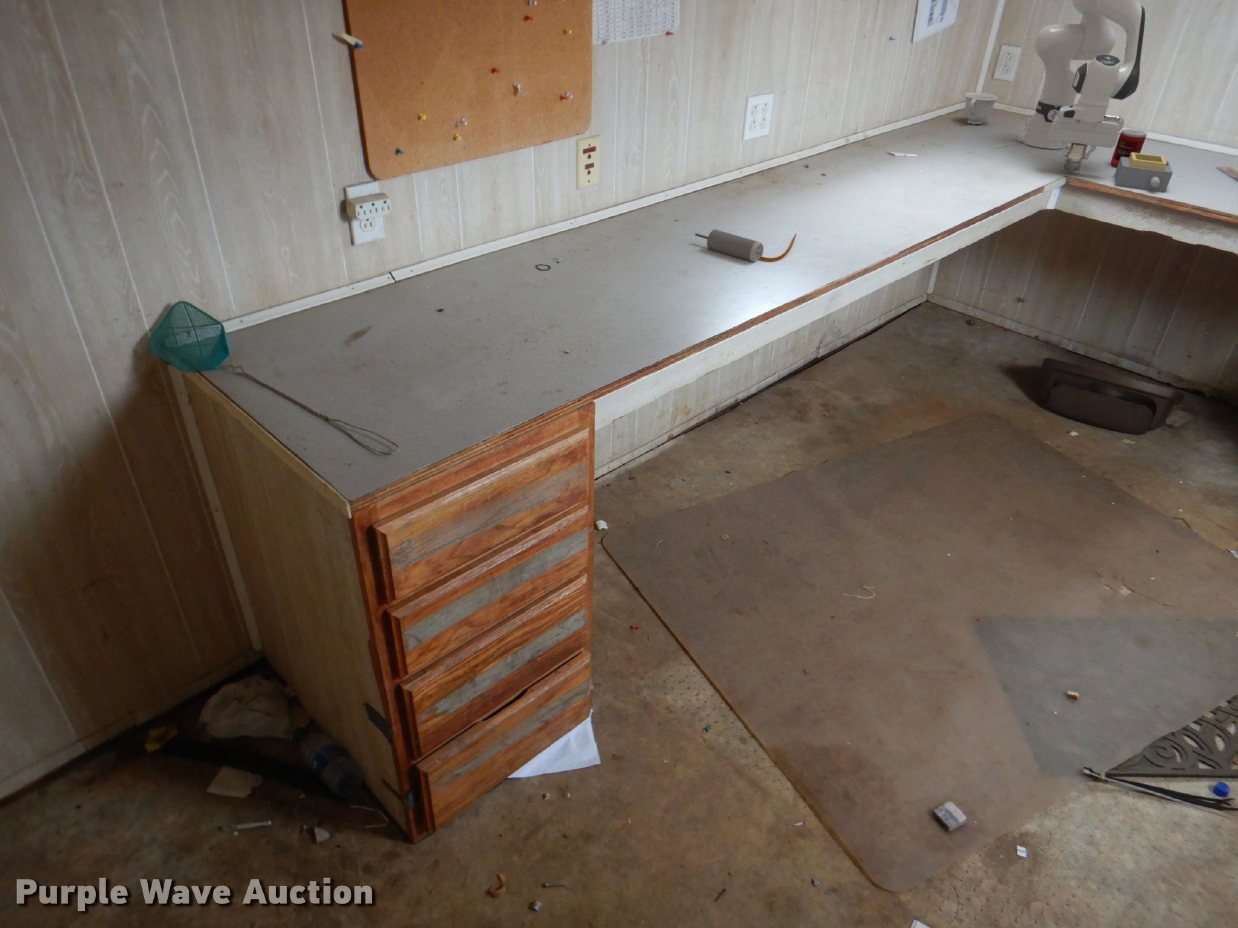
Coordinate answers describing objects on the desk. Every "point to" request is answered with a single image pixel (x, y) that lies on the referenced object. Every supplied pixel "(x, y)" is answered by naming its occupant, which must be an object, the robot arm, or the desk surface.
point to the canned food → (1128, 144)
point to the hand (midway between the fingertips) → (1074, 157)
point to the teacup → (978, 106)
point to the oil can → (1075, 157)
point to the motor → (739, 246)
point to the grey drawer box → (1143, 172)
